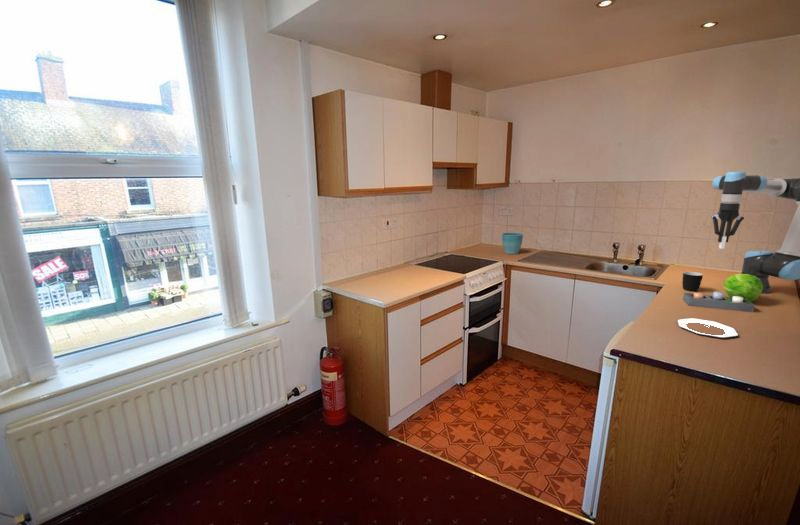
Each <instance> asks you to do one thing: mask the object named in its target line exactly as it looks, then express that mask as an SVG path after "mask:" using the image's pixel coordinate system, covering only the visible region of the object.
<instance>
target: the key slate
mask: <svg viewBox="0 0 800 525" xmlns="http://www.w3.org/2000/svg"><path fill="white" fill-rule="evenodd" d="M712 295H713V298H712V299H717V300H723V296H724V295H725V293H724V292H720V291H713V293H712Z"/></svg>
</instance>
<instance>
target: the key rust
mask: <svg viewBox="0 0 800 525" xmlns="http://www.w3.org/2000/svg"><path fill="white" fill-rule="evenodd" d="M693 294H694V296H693V297H696V298H703V296H704V295H705V293H703V292H698V291H696V292H693Z"/></svg>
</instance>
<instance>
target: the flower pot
mask: <svg viewBox="0 0 800 525" xmlns="http://www.w3.org/2000/svg"><path fill="white" fill-rule="evenodd" d="M523 238H524V233H519V232H504V233H503V232H502V233H501V240H502V246H503V249H504V254H507V255H510V254H511V255H517V254H519V253H520V249H521V246H522V244H523Z"/></svg>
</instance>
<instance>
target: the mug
mask: <svg viewBox="0 0 800 525" xmlns="http://www.w3.org/2000/svg"><path fill="white" fill-rule="evenodd" d="M703 276H704V274H703V273H701V272H696V271H684V272H683V273H682V283H681V284H682V288H683V290H684V291H686V292H692V293H694V292H698V291H699V288H700V287H701V284H702V281H703Z"/></svg>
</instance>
